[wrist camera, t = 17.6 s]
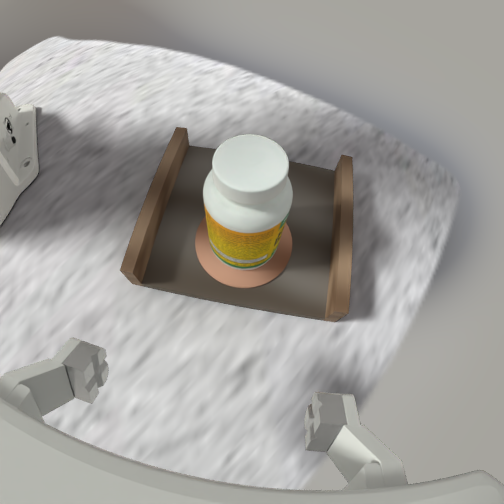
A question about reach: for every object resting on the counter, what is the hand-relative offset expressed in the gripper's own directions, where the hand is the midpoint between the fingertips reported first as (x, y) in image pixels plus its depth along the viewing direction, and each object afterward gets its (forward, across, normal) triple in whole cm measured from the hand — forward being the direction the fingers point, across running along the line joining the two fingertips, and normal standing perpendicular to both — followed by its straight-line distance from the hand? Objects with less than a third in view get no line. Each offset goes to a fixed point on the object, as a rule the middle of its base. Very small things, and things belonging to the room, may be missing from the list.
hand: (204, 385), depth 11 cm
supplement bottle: (+15, 0, 0) cm, 15 cm away
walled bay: (+17, 0, -2) cm, 17 cm away
